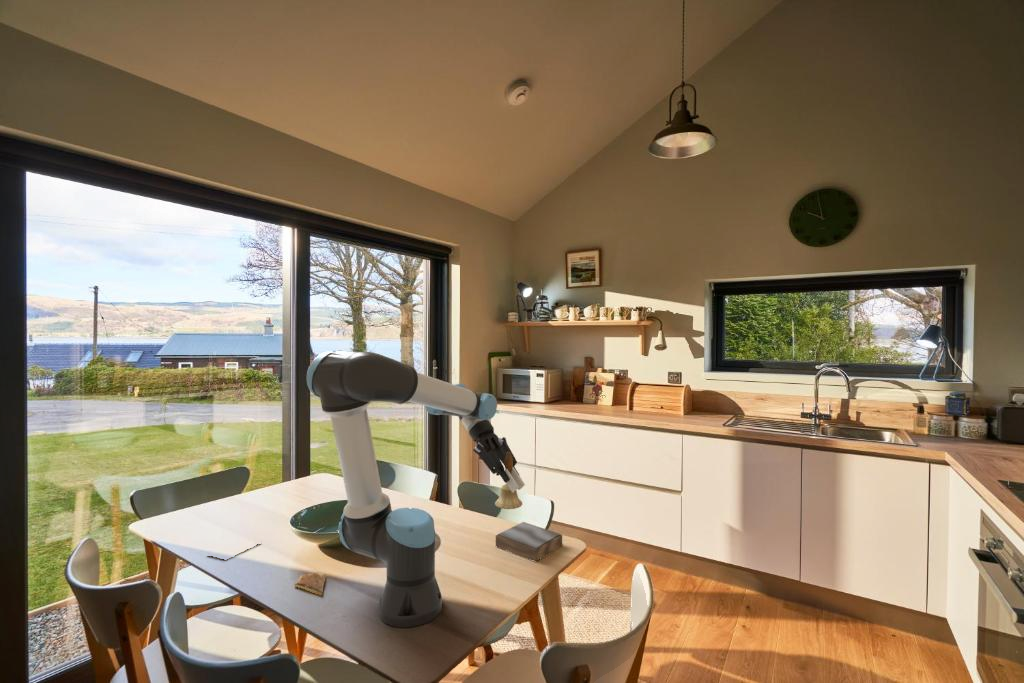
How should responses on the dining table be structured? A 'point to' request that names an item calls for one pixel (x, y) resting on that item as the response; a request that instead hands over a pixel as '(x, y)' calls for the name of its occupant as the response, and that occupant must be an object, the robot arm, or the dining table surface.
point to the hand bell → (508, 490)
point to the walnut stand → (529, 541)
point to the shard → (312, 582)
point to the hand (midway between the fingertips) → (518, 488)
